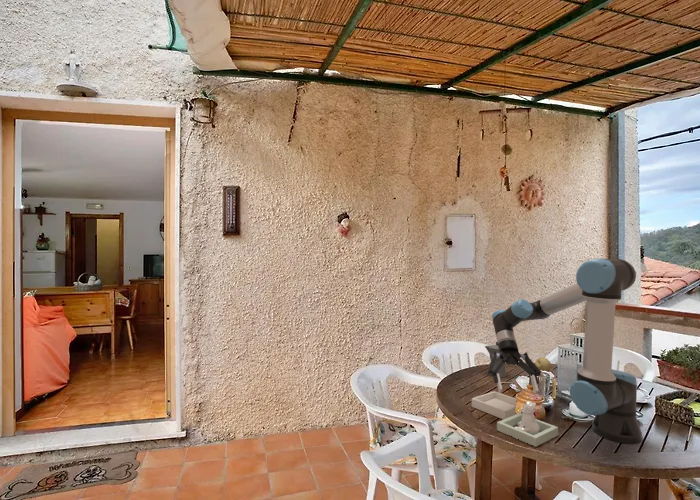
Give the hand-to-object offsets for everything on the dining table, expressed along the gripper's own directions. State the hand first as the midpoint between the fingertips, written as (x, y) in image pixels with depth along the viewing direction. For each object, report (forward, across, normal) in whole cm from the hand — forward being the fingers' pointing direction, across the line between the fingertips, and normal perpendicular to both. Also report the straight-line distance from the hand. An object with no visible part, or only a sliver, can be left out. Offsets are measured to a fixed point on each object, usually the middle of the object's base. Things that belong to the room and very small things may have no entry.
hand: (518, 391), depth 152 cm
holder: (+14, -1, -3) cm, 15 cm away
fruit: (-40, -36, -58) cm, 79 cm away
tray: (-1, +3, -19) cm, 19 cm away
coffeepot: (-34, -10, -52) cm, 63 cm away
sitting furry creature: (+14, -1, -4) cm, 15 cm away
